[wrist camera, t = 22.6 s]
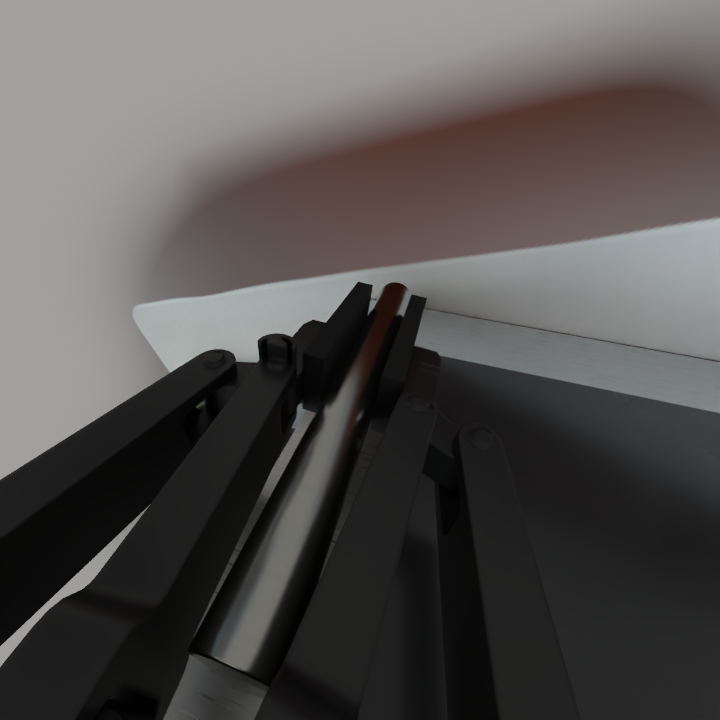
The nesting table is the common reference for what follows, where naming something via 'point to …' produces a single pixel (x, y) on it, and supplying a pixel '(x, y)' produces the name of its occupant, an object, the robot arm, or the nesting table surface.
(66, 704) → the robot arm
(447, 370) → the microwave door
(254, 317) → the nesting table surface
